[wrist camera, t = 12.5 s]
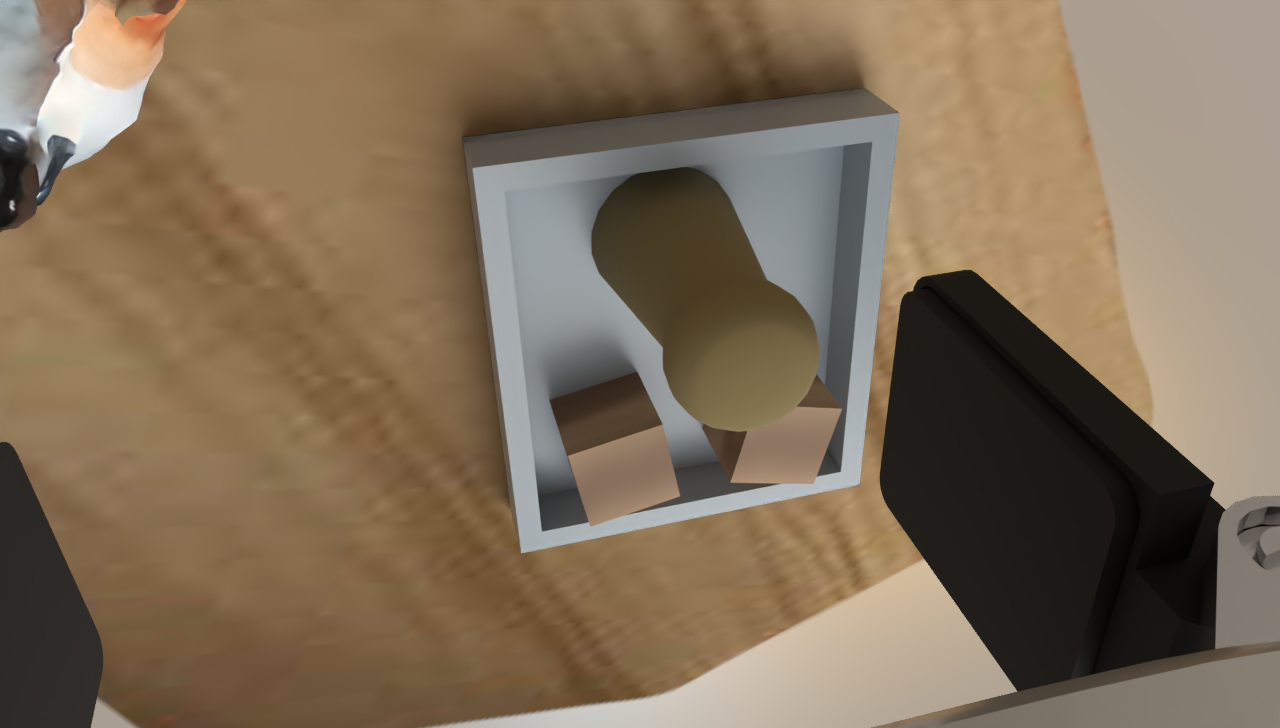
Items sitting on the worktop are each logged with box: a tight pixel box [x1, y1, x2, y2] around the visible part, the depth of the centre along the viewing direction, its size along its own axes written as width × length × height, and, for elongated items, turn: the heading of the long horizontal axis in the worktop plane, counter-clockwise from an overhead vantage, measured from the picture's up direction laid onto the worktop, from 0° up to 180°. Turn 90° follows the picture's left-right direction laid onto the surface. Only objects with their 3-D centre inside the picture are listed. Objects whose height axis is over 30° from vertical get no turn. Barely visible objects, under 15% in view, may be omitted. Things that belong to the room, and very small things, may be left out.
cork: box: [591, 167, 820, 432], centre depth 38 cm, size 6×6×11 cm
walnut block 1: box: [549, 372, 680, 527], centre depth 45 cm, size 4×4×4 cm
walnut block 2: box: [702, 374, 842, 484], centre depth 46 cm, size 4×4×4 cm
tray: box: [462, 88, 899, 553], centre depth 44 cm, size 18×16×3 cm
